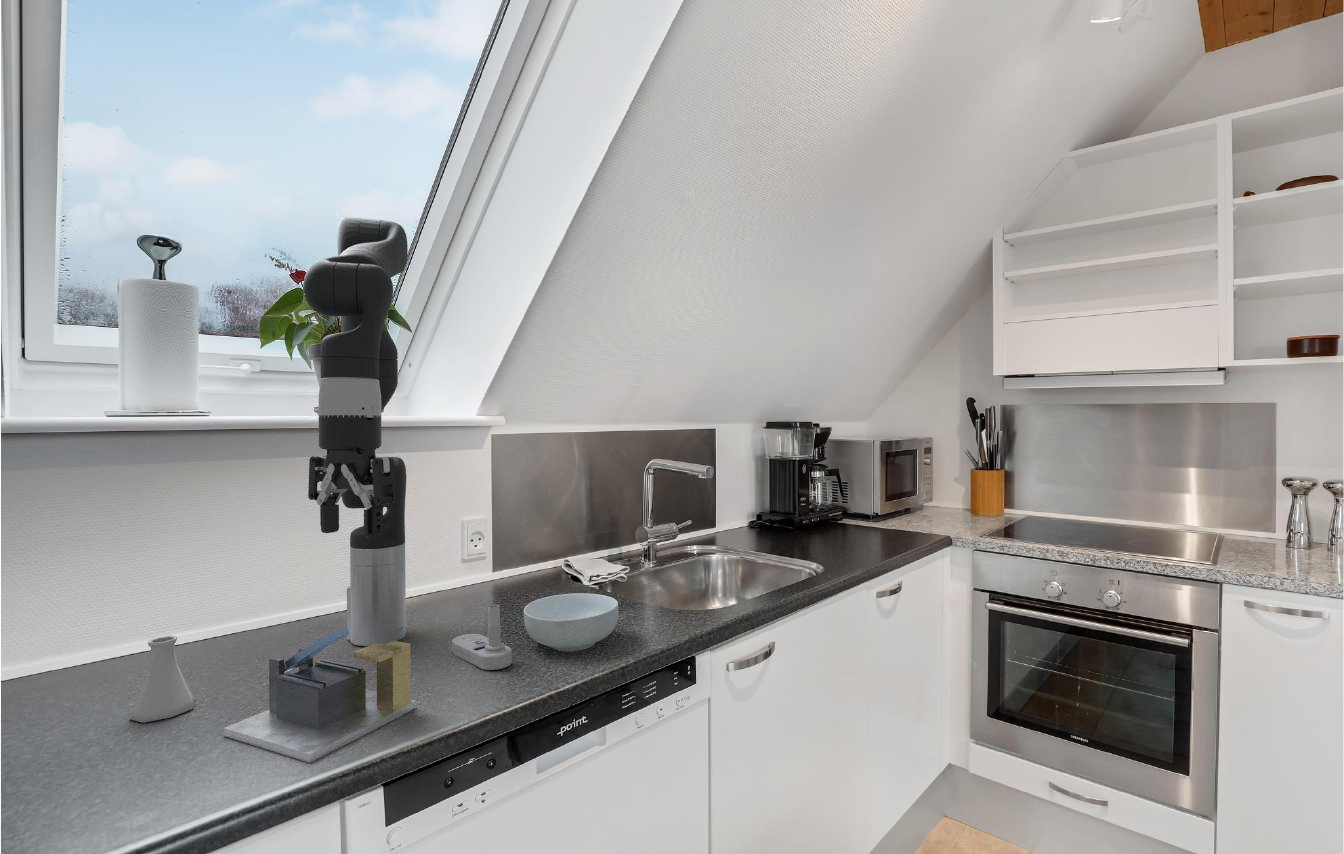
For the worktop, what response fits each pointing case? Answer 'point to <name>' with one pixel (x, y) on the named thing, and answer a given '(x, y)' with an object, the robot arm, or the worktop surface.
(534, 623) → the cereal bowl
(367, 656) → the block
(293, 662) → the blue bar
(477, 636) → the electronic device
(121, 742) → the worktop surface
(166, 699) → the flask
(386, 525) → the robot arm
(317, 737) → the clip base
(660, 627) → the worktop surface
